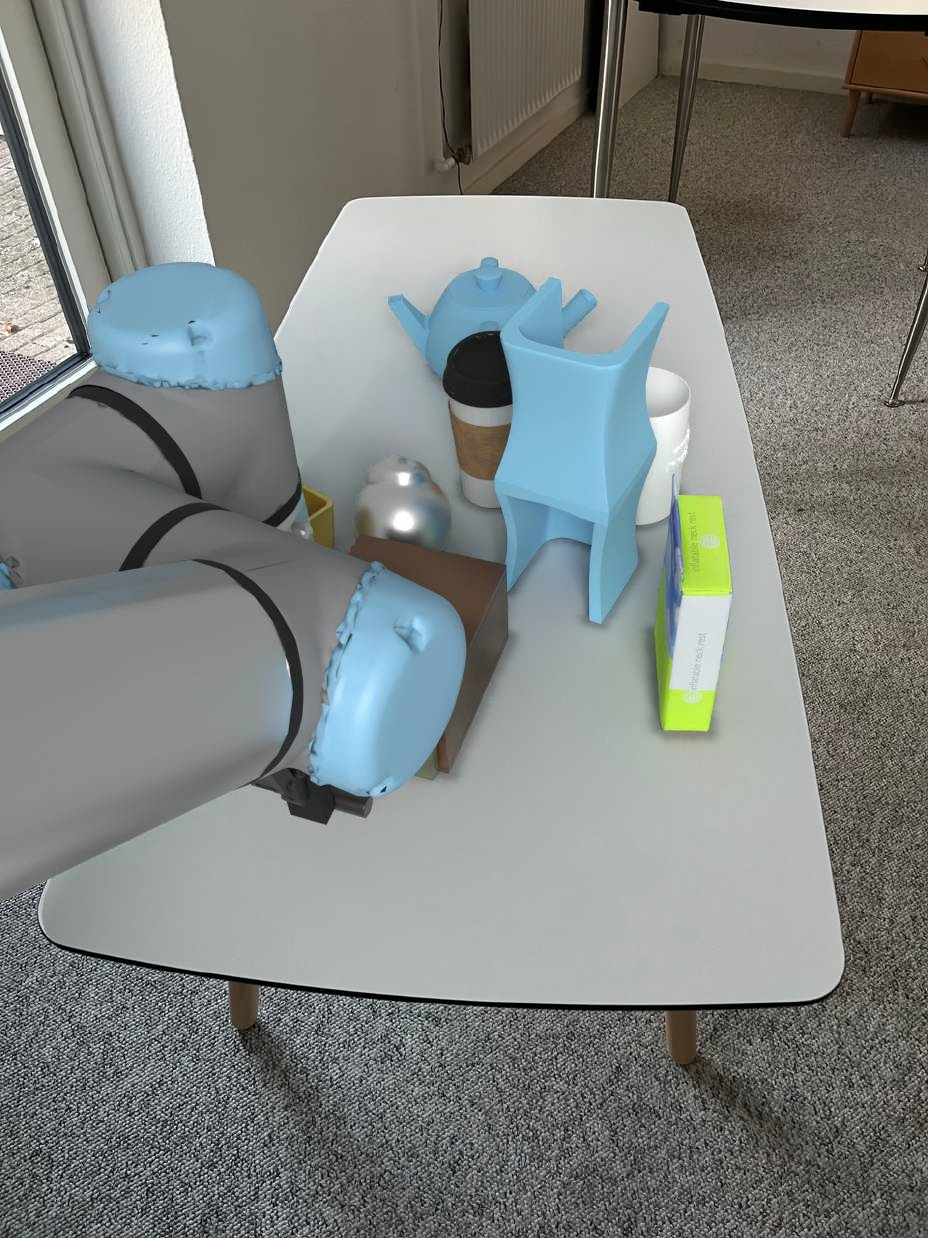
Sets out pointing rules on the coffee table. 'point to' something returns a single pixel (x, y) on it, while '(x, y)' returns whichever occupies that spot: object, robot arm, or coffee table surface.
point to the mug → (664, 442)
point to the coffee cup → (479, 412)
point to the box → (692, 611)
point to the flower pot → (320, 516)
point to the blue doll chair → (576, 444)
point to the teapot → (475, 310)
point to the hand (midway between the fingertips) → (312, 811)
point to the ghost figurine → (402, 505)
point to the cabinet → (479, 606)
